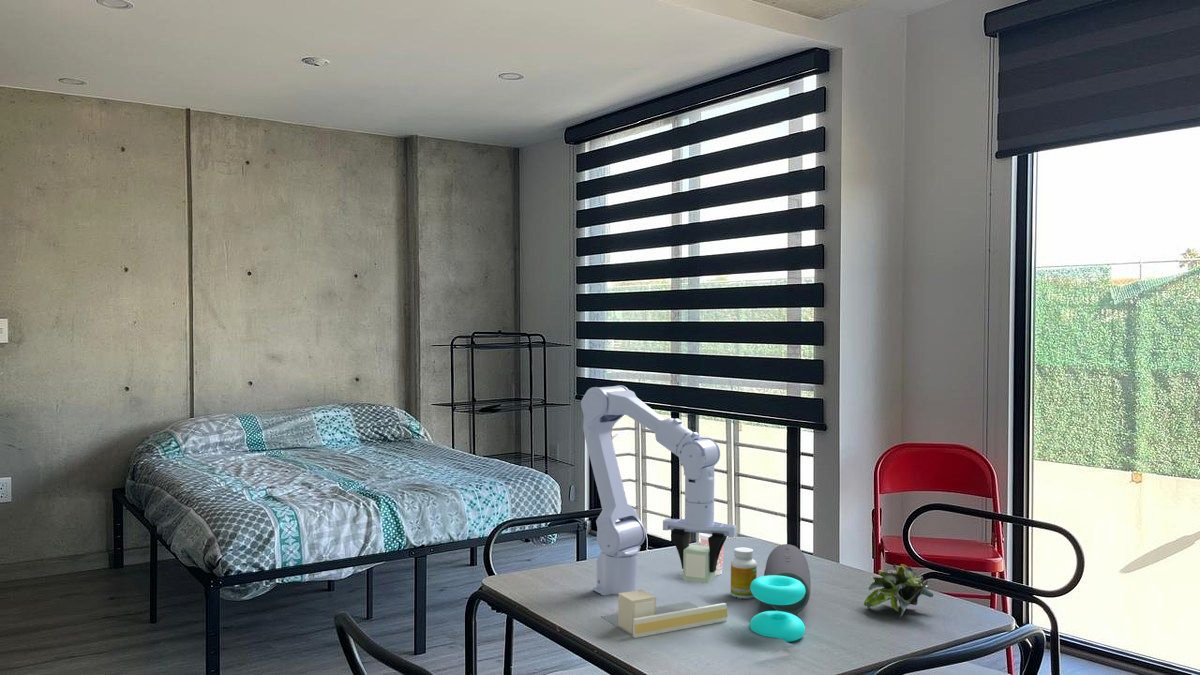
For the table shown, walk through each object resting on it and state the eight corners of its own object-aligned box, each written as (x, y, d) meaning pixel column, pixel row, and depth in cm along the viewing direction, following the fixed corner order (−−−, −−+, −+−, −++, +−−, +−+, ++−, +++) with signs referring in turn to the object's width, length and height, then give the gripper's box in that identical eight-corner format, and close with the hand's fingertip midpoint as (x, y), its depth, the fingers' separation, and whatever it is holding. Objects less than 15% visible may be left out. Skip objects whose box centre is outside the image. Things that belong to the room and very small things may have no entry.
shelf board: (600, 622, 168) (600, 599, 168) (688, 607, 177) (688, 585, 177) (635, 645, 156) (635, 620, 156) (727, 627, 165) (727, 604, 165)
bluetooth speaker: (764, 585, 193) (765, 540, 193) (808, 588, 191) (808, 542, 191) (762, 619, 171) (763, 568, 170) (811, 622, 169) (812, 571, 169)
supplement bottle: (756, 600, 182) (756, 553, 182) (729, 598, 183) (730, 551, 183) (756, 592, 188) (757, 547, 187) (731, 590, 189) (731, 545, 189)
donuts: (769, 570, 169) (815, 580, 162) (768, 622, 169) (815, 634, 162) (739, 581, 161) (787, 592, 155) (739, 635, 162) (786, 649, 155)
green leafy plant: (902, 633, 179) (937, 586, 179) (907, 641, 168) (944, 591, 168) (855, 597, 182) (889, 550, 182) (857, 603, 171) (894, 553, 171)
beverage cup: (727, 576, 199) (727, 515, 199) (700, 576, 199) (700, 514, 199) (723, 569, 205) (724, 509, 205) (697, 568, 205) (698, 509, 205)
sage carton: (691, 574, 176) (691, 544, 176) (715, 577, 174) (715, 547, 174) (682, 580, 171) (683, 550, 171) (707, 583, 169) (707, 552, 169)
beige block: (618, 625, 163) (618, 593, 163) (641, 621, 165) (641, 589, 165) (632, 634, 158) (632, 601, 158) (655, 629, 160) (656, 597, 160)
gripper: (740, 500, 173) (740, 568, 173) (671, 494, 179) (670, 560, 179) (731, 506, 167) (730, 578, 167) (659, 500, 173) (658, 569, 173)
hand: (698, 569), depth 173 cm, fingers closed on sage carton, 5 cm apart
